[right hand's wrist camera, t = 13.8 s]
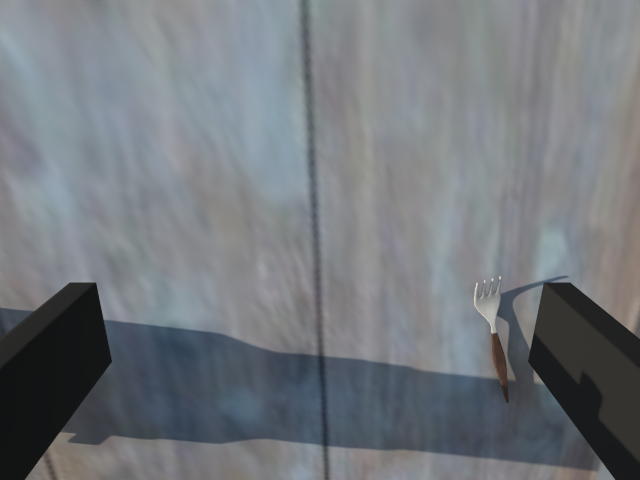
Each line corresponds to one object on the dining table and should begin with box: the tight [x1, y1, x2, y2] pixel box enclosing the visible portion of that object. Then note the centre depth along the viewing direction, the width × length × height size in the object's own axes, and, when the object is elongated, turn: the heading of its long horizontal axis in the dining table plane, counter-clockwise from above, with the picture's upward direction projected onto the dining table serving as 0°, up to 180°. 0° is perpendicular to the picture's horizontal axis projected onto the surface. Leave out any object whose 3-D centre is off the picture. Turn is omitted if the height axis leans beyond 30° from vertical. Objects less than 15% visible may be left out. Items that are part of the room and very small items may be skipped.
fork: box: [474, 276, 509, 403], centre depth 43 cm, size 3×16×2 cm, turn 17°
